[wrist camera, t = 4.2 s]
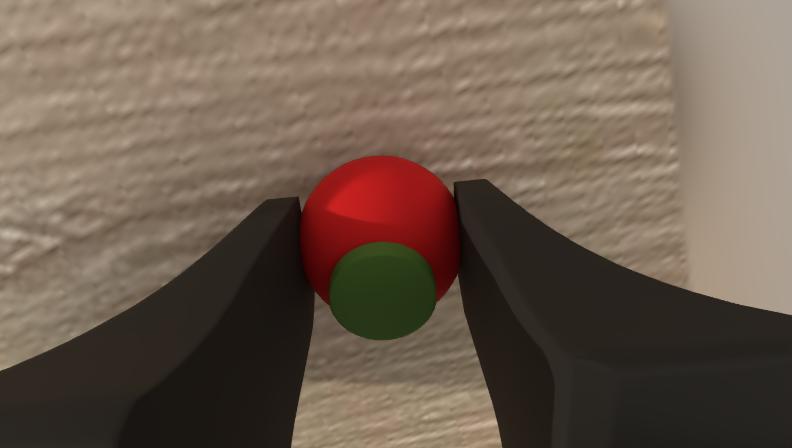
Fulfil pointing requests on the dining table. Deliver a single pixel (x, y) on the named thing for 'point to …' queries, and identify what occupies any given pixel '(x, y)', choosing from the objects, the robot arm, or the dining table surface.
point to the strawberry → (380, 245)
